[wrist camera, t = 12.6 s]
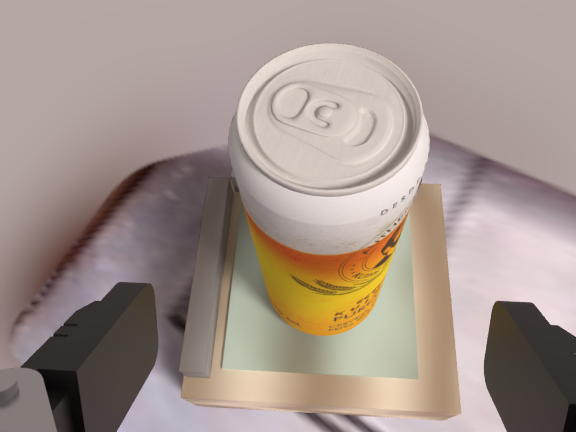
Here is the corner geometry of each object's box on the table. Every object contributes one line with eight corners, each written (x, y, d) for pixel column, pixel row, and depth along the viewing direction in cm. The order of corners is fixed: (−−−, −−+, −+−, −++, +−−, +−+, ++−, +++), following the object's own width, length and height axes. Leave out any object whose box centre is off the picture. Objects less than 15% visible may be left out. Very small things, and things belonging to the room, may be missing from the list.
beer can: (352, 359, 26) (392, 241, 12) (248, 310, 27) (182, 156, 14) (394, 259, 28) (466, 67, 15) (296, 219, 29) (279, 11, 16)
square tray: (427, 210, 34) (446, 163, 29) (442, 420, 28) (471, 409, 23) (224, 204, 35) (208, 158, 30) (197, 405, 29) (171, 392, 24)
